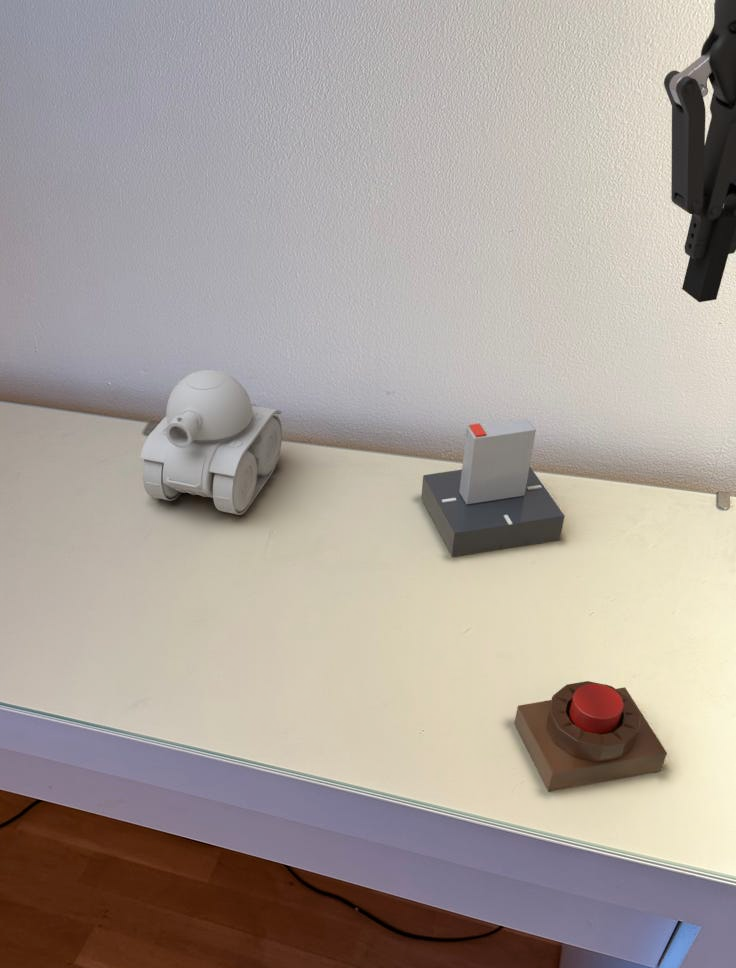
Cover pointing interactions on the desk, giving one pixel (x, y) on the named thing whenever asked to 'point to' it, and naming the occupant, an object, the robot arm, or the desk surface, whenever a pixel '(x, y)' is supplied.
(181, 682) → the desk surface
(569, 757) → the button block
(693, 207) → the robot arm
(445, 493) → the plate
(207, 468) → the toy tank
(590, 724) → the button
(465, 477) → the grey rectangular block
